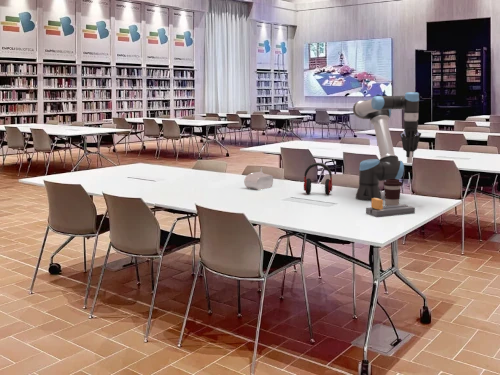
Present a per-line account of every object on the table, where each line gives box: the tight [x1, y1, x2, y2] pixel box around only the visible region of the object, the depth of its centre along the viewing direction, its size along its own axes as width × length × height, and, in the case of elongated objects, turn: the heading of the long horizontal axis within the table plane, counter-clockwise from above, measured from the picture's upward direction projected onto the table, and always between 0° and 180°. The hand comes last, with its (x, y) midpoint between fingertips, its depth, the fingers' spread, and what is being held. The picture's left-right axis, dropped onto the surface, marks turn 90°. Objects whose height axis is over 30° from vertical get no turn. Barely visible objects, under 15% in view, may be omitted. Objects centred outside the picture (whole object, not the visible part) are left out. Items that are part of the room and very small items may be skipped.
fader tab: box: [371, 198, 384, 210], centre depth 319 cm, size 6×3×7 cm, turn 22°
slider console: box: [365, 203, 416, 218], centre depth 323 cm, size 10×24×3 cm, turn 112°
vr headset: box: [244, 166, 274, 191], centre depth 404 cm, size 18×11×14 cm, turn 139°
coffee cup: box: [383, 179, 403, 206], centre depth 342 cm, size 10×10×15 cm
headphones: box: [303, 162, 333, 196], centre depth 379 cm, size 18×10×20 cm, turn 79°
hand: (409, 162), depth 339 cm, fingers closed
